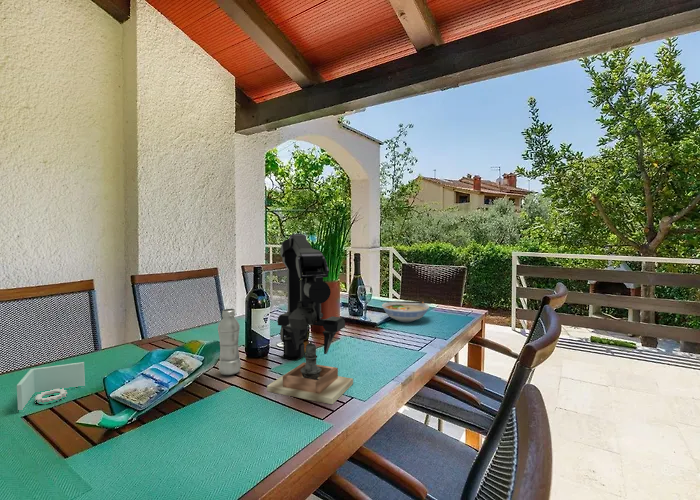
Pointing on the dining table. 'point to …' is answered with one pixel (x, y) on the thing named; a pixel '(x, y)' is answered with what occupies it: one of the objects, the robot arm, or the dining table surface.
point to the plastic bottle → (229, 343)
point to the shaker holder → (312, 385)
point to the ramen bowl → (405, 310)
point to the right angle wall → (49, 382)
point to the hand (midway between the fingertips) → (311, 351)
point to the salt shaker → (311, 363)
